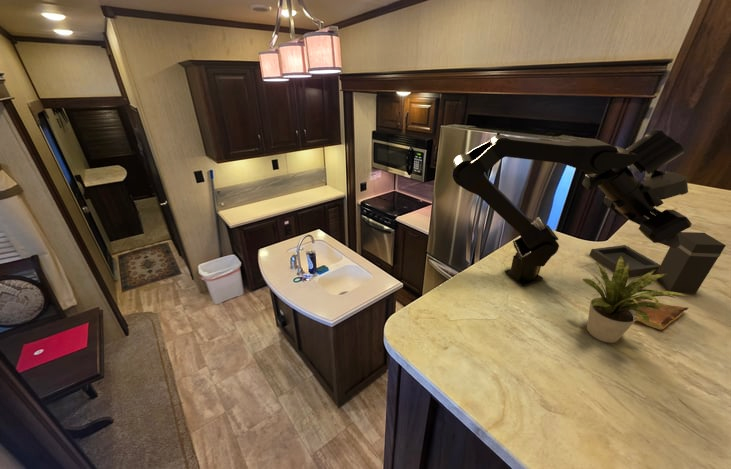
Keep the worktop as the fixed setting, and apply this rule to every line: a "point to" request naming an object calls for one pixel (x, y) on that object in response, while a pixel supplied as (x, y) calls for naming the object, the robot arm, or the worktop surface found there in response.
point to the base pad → (633, 258)
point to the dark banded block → (689, 262)
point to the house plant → (621, 302)
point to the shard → (661, 315)
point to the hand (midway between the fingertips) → (661, 235)
